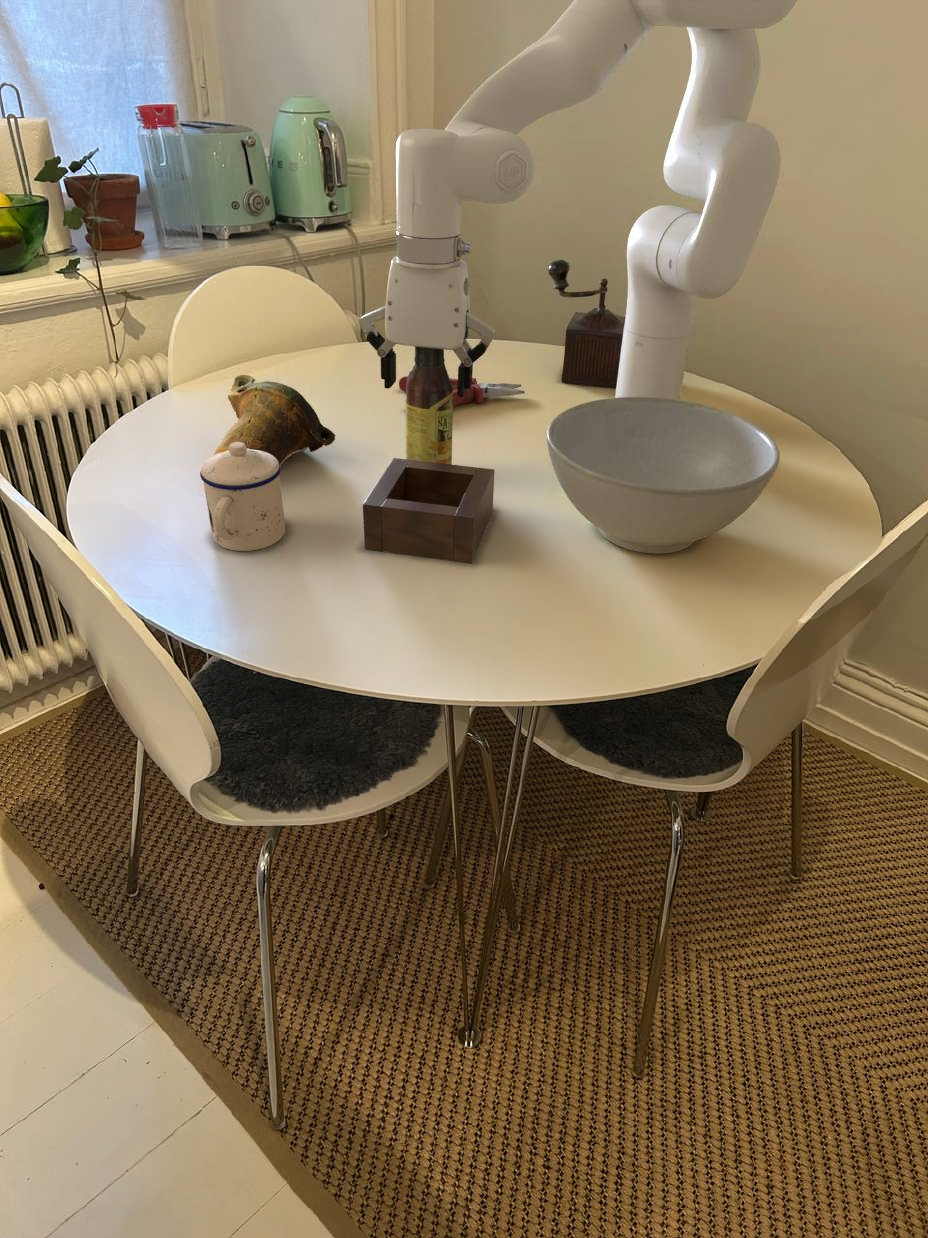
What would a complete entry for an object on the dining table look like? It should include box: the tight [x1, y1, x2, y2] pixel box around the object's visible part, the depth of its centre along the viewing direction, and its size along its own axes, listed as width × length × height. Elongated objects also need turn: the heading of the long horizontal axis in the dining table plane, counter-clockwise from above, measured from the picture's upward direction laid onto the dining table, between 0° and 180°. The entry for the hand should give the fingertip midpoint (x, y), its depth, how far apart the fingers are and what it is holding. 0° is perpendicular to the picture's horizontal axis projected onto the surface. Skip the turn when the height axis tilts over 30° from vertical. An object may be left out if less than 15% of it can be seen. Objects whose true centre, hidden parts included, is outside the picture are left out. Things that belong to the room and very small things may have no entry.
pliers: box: [398, 375, 526, 407], centre depth 143 cm, size 12×20×3 cm, turn 100°
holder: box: [362, 457, 496, 564], centre depth 106 cm, size 13×13×6 cm
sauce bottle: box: [405, 346, 454, 465], centre depth 115 cm, size 7×6×20 cm
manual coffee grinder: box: [547, 258, 626, 389], centre depth 149 cm, size 16×11×18 cm
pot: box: [212, 374, 336, 466], centre depth 120 cm, size 17×11×18 cm
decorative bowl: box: [546, 397, 781, 554], centre depth 106 cm, size 27×27×12 cm
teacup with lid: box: [199, 442, 286, 552], centre depth 101 cm, size 12×9×12 cm
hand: (426, 389), depth 113 cm, fingers open, 9 cm apart
